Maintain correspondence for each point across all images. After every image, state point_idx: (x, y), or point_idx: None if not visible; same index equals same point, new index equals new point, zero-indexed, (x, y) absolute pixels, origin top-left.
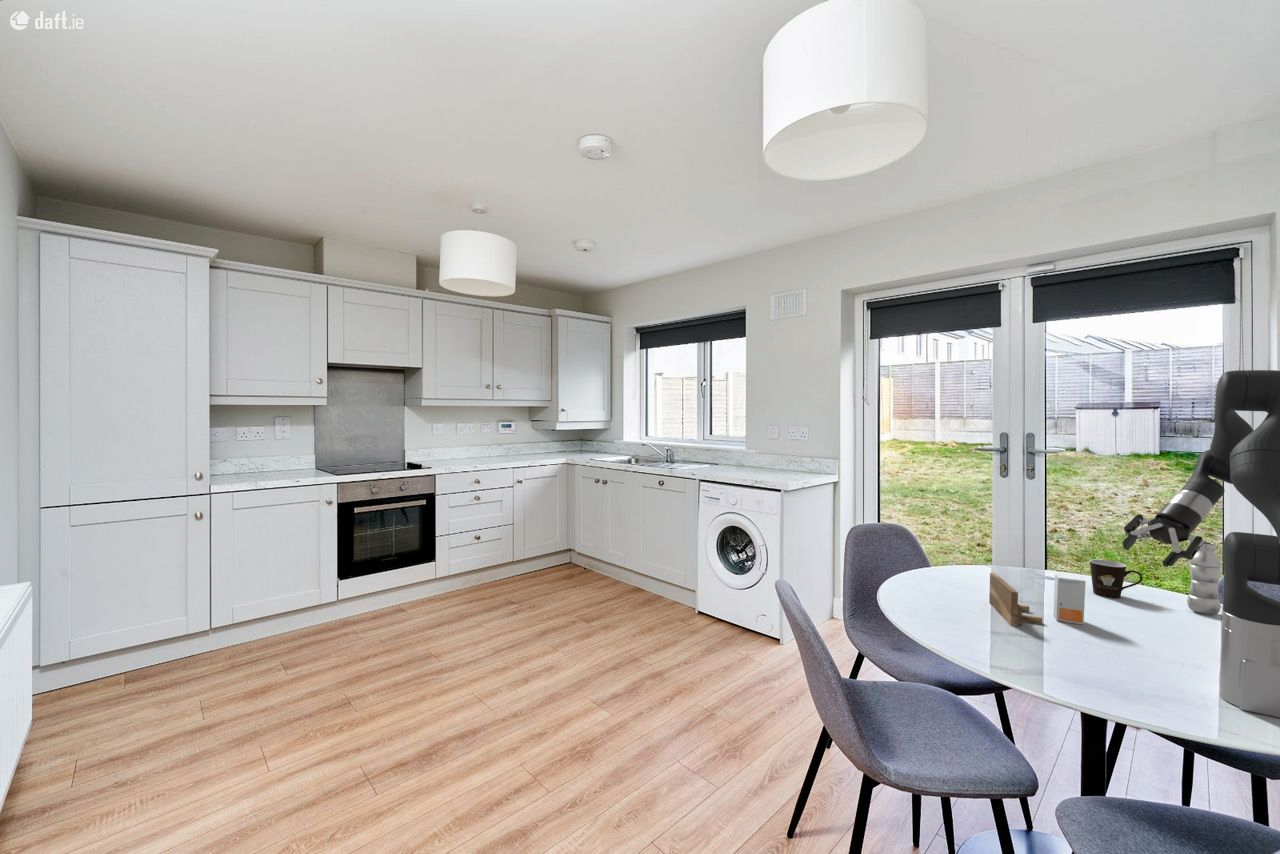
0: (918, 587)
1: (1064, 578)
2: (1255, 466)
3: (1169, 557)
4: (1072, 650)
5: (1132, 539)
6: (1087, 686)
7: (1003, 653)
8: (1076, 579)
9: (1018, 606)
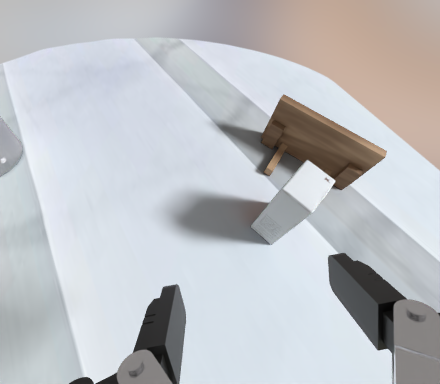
0: (403, 148)
1: (302, 166)
2: None
3: (160, 310)
4: (182, 126)
5: (360, 287)
6: (117, 64)
7: (200, 68)
8: (293, 180)
9: (274, 122)
